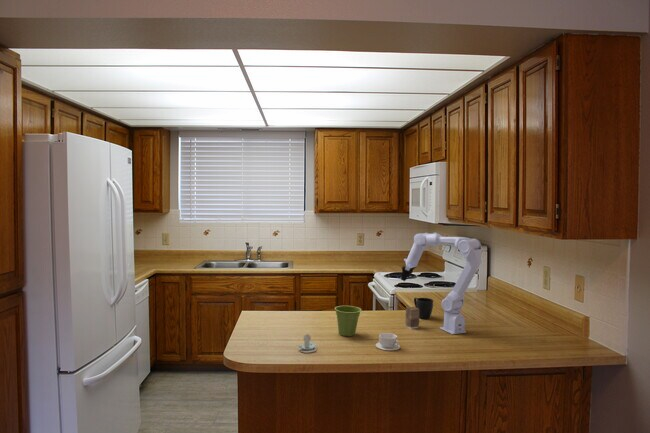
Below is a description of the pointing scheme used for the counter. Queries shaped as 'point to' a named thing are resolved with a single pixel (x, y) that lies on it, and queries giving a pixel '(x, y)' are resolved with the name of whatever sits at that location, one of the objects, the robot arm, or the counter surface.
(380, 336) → the teacup
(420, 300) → the mug
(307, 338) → the pacifier
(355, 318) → the plant pot
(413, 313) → the walnut block
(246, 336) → the counter surface
